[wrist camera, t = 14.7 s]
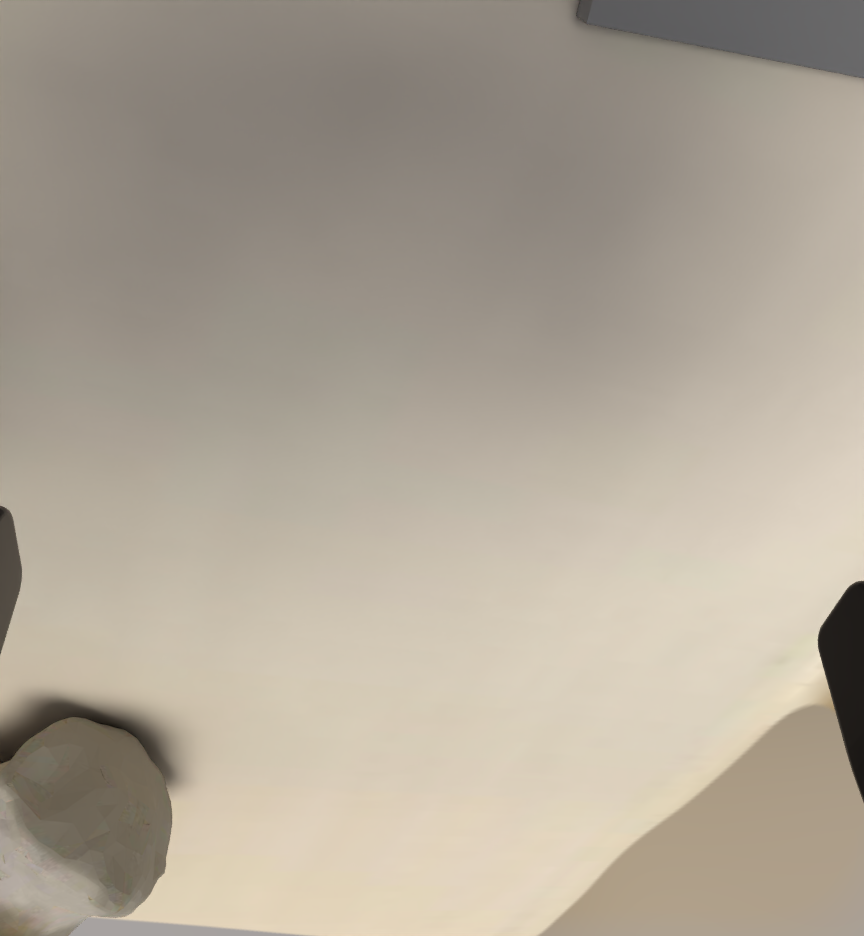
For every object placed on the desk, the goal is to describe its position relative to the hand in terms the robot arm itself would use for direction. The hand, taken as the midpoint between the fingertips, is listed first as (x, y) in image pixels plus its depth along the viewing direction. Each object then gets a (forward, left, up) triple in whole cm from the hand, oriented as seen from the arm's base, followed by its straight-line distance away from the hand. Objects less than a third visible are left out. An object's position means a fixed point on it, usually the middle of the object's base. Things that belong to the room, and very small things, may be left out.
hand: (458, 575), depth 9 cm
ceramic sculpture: (-11, -26, -13) cm, 31 cm away
